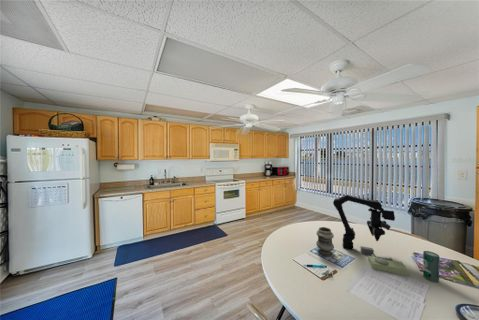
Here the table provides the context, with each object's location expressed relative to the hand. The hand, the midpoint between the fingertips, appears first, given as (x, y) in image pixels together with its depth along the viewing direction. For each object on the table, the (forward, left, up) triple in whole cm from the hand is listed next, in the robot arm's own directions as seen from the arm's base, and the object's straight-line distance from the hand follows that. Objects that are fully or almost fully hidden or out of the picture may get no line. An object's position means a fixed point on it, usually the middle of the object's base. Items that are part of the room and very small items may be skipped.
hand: (374, 238), depth 127 cm
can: (+22, -20, -12) cm, 32 cm away
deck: (+2, -14, -12) cm, 19 cm away
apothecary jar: (-34, -13, -12) cm, 38 cm away
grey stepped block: (-5, -1, -12) cm, 13 cm away
